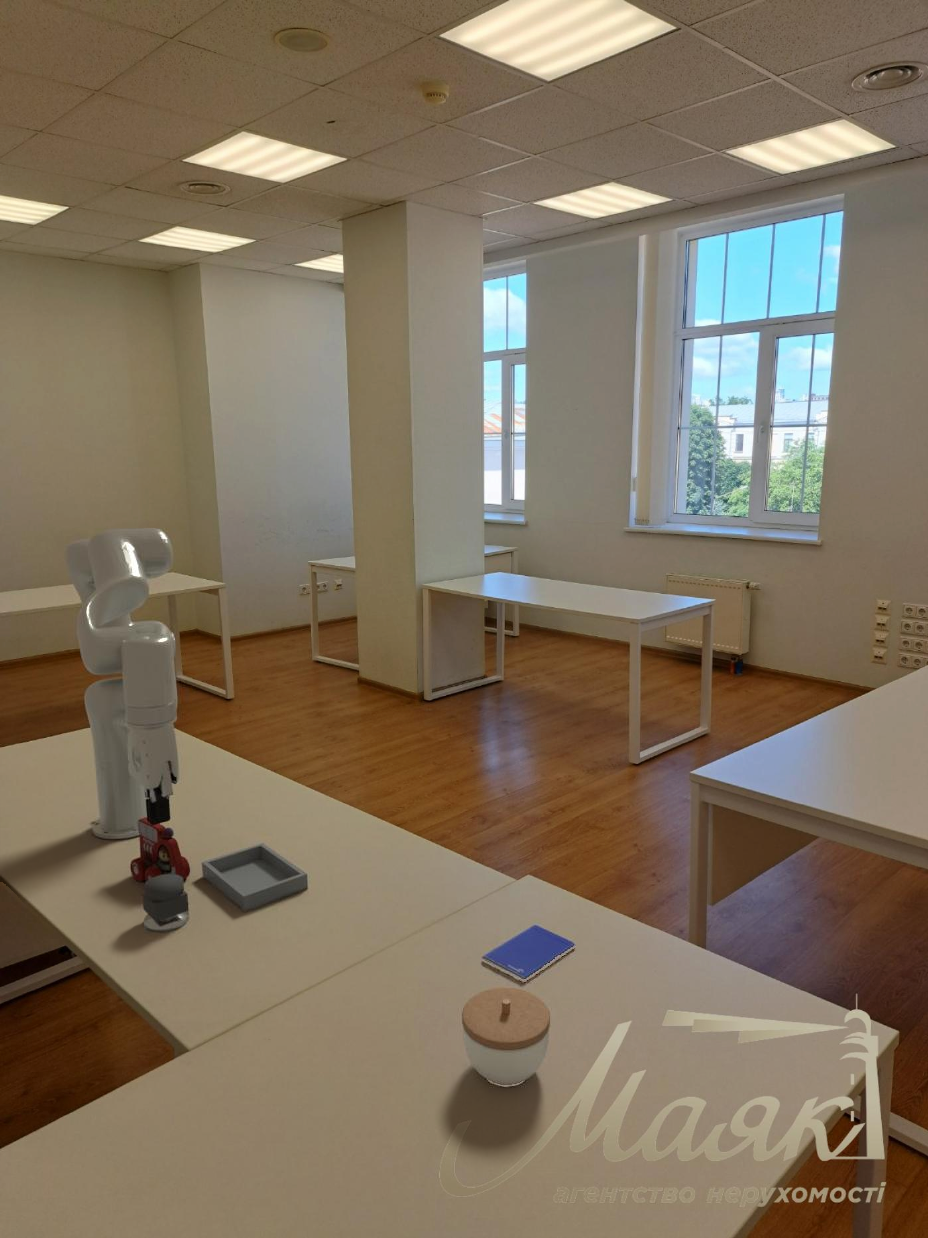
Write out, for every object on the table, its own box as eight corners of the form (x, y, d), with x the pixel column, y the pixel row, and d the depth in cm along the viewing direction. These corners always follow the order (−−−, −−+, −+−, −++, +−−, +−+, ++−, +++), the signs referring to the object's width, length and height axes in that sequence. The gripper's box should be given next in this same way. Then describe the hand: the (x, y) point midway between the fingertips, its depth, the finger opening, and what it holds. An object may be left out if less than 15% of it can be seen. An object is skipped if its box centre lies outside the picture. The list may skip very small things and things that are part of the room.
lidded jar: (484, 1113, 98) (484, 1040, 97) (448, 1055, 108) (448, 987, 106) (565, 1086, 103) (566, 1015, 101) (524, 1032, 112) (524, 967, 111)
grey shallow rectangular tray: (202, 876, 155) (201, 862, 155) (263, 856, 163) (262, 843, 162) (244, 912, 143) (243, 896, 142) (307, 888, 151) (307, 874, 150)
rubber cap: (140, 909, 140) (138, 881, 139) (176, 897, 144) (174, 870, 143) (154, 923, 136) (152, 895, 135) (191, 910, 139) (189, 883, 139)
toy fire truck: (162, 897, 148) (158, 841, 146) (126, 875, 156) (121, 822, 154) (197, 882, 153) (194, 828, 151) (161, 862, 161) (157, 810, 159)
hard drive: (524, 977, 123) (575, 942, 131) (481, 955, 128) (533, 923, 137) (524, 987, 123) (575, 952, 132) (481, 964, 128) (533, 932, 137)
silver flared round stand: (137, 920, 141) (135, 893, 140) (179, 905, 145) (177, 879, 144) (153, 937, 135) (151, 909, 134) (196, 922, 140) (194, 895, 139)
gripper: (110, 706, 137) (119, 812, 141) (145, 729, 126) (153, 844, 130) (156, 697, 142) (163, 801, 145) (194, 719, 131) (200, 830, 134)
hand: (158, 821), depth 138 cm, fingers closed
